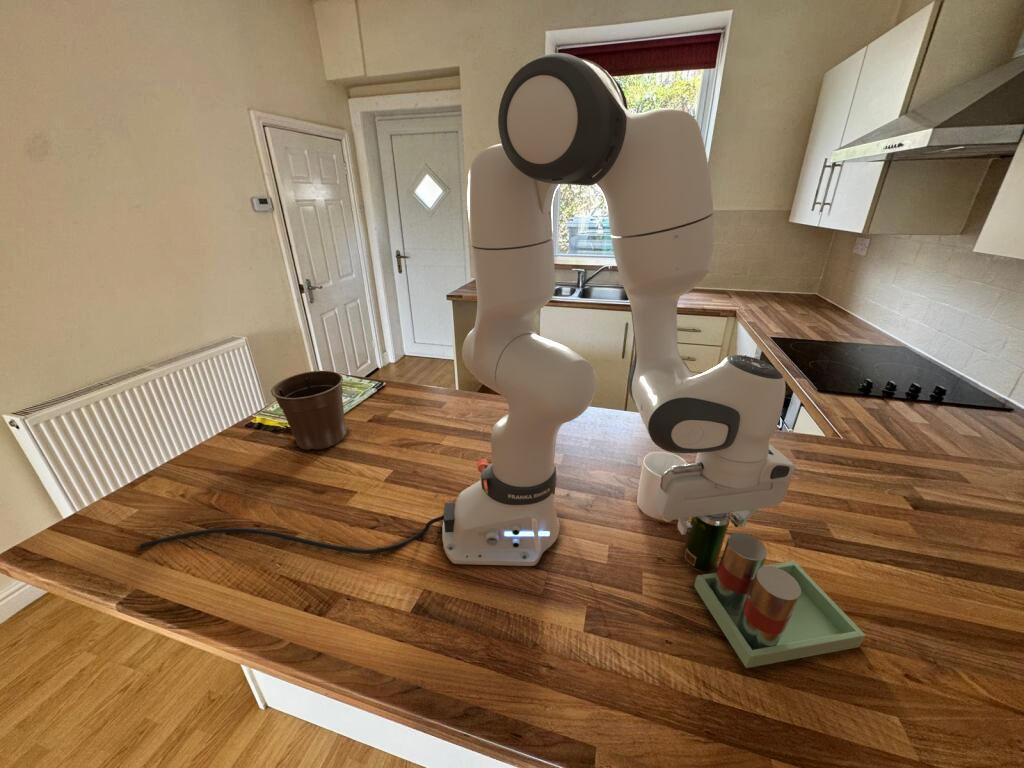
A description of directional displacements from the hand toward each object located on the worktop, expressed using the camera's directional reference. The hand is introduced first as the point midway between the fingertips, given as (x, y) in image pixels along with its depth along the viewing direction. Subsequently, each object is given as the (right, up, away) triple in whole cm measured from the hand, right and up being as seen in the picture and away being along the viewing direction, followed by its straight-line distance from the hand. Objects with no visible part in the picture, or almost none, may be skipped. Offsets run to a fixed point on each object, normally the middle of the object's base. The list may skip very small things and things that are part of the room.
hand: (710, 527), depth 66 cm
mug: (-3, -2, +14) cm, 15 cm away
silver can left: (+1, -10, -3) cm, 11 cm away
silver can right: (+2, -13, -9) cm, 16 cm away
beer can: (0, -7, +4) cm, 9 cm away
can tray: (+6, -12, -5) cm, 14 cm away
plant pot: (-83, +9, +40) cm, 93 cm away
